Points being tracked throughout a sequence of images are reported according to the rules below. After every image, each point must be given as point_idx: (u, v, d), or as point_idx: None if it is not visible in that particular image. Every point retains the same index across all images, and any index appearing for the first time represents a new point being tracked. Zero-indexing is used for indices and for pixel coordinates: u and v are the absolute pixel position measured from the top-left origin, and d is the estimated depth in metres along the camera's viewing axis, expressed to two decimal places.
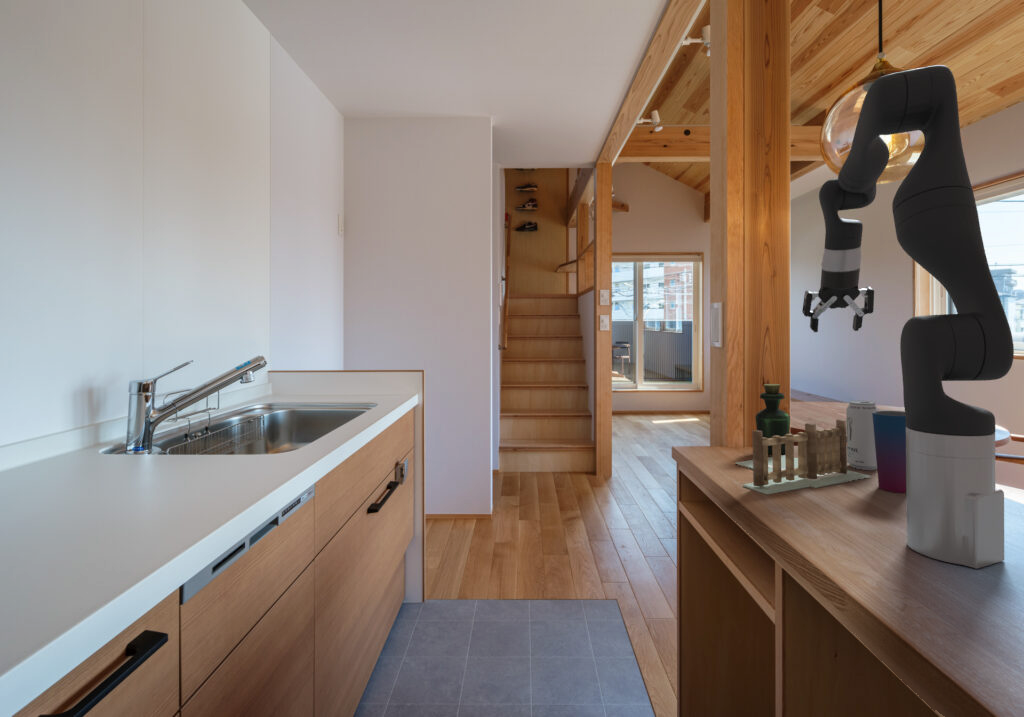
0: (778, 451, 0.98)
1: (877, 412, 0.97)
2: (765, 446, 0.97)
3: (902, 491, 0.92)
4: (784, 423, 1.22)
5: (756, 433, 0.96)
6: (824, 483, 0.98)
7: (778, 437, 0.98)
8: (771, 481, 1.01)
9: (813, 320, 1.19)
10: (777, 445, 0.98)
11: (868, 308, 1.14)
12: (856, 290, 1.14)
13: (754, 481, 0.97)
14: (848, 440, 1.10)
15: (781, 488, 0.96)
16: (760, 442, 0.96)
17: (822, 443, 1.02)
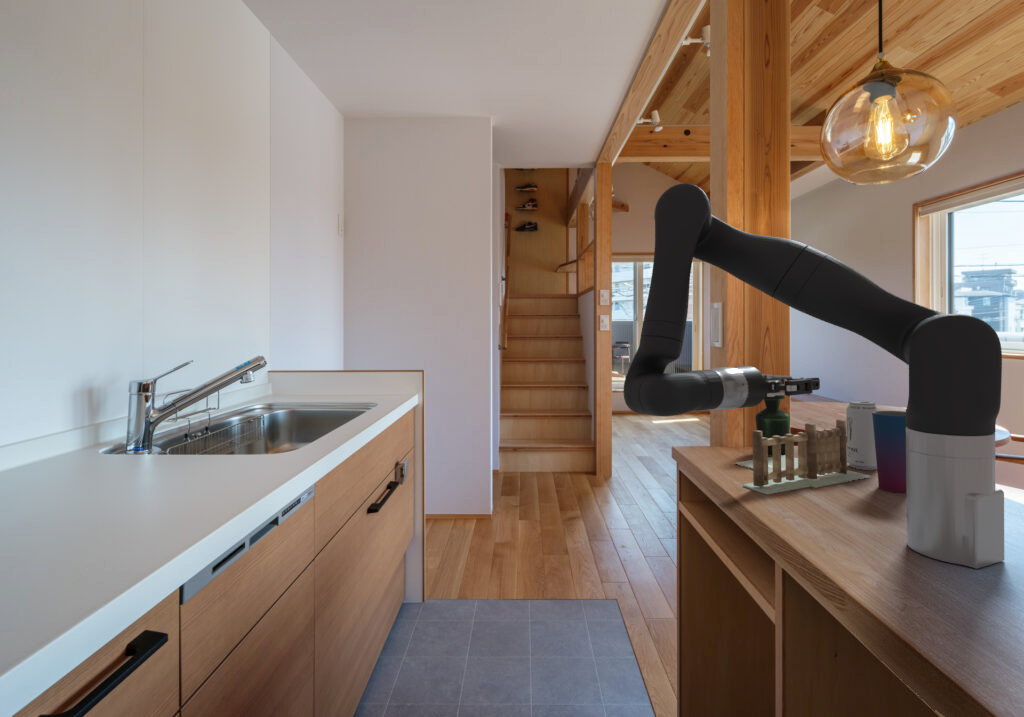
0: (778, 451, 0.98)
1: (877, 412, 0.97)
2: (765, 446, 0.97)
3: (902, 491, 0.92)
4: (784, 423, 1.22)
5: (756, 433, 0.96)
6: (824, 483, 0.98)
7: (778, 437, 0.98)
8: (771, 481, 1.01)
9: None
10: (777, 445, 0.98)
11: None
12: None
13: (754, 481, 0.97)
14: (848, 440, 1.10)
15: (781, 488, 0.96)
16: (760, 442, 0.96)
17: (822, 443, 1.02)
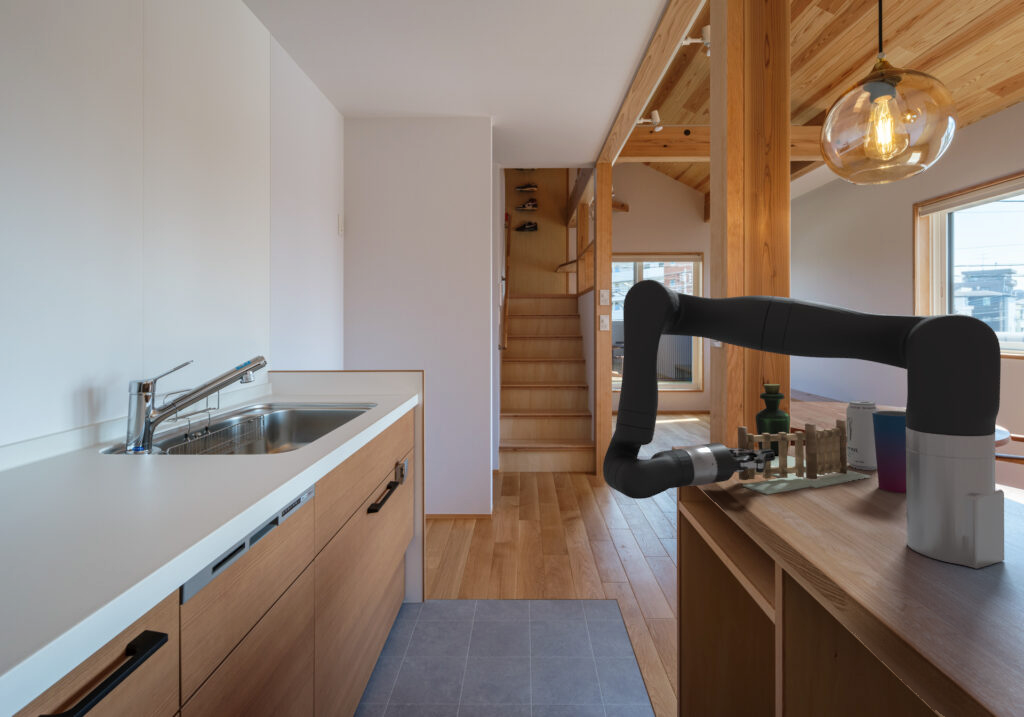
0: (767, 448, 1.01)
1: (877, 412, 0.97)
2: (751, 442, 1.01)
3: (902, 491, 0.92)
4: (784, 423, 1.22)
5: (740, 429, 1.01)
6: (824, 483, 0.98)
7: (767, 434, 1.01)
8: (771, 481, 1.01)
9: None
10: (766, 442, 1.01)
11: None
12: None
13: (739, 474, 1.02)
14: (848, 440, 1.10)
15: (781, 488, 0.96)
16: (744, 438, 1.01)
17: (822, 443, 1.02)
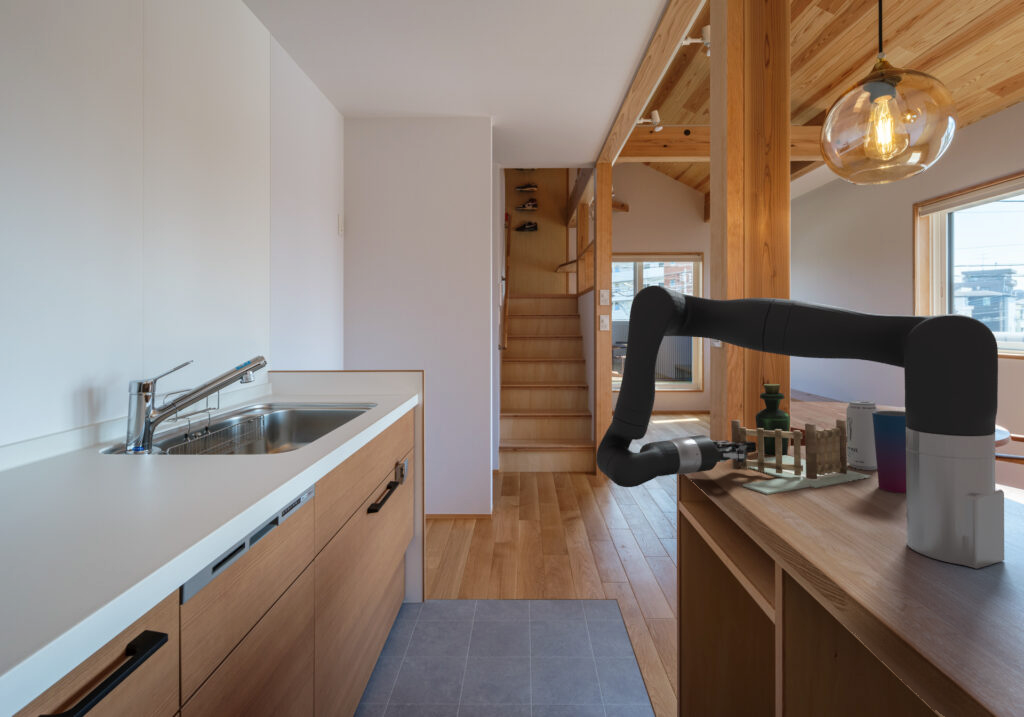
0: (760, 442, 1.07)
1: (877, 412, 0.97)
2: (743, 435, 1.08)
3: (902, 491, 0.92)
4: (784, 423, 1.22)
5: (731, 422, 1.10)
6: (824, 483, 0.98)
7: (760, 429, 1.07)
8: (771, 481, 1.01)
9: None
10: (759, 437, 1.07)
11: None
12: None
13: None
14: (848, 440, 1.10)
15: (781, 488, 0.96)
16: (734, 430, 1.09)
17: (822, 443, 1.02)
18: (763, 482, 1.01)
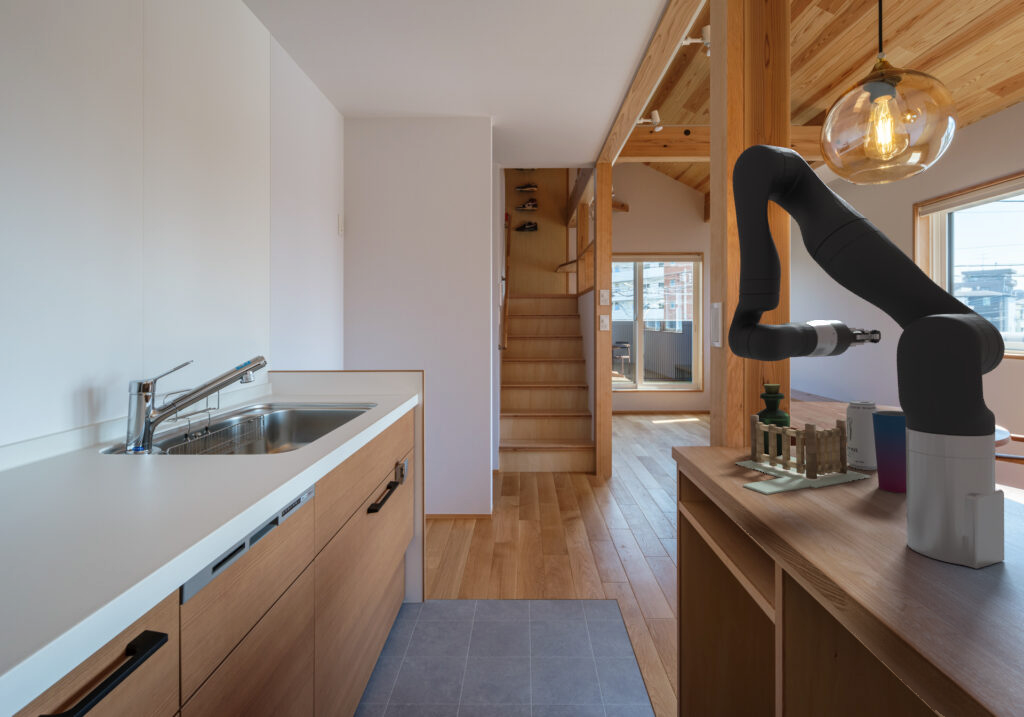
0: (770, 438, 1.11)
1: (877, 412, 0.97)
2: (758, 429, 1.14)
3: (902, 491, 0.92)
4: (784, 423, 1.22)
5: (750, 416, 1.16)
6: (824, 483, 0.98)
7: (770, 425, 1.11)
8: (771, 481, 1.01)
9: None
10: (770, 433, 1.11)
11: None
12: None
13: None
14: (848, 440, 1.10)
15: (781, 488, 0.96)
16: (751, 424, 1.15)
17: (822, 443, 1.02)
18: (763, 482, 1.01)
